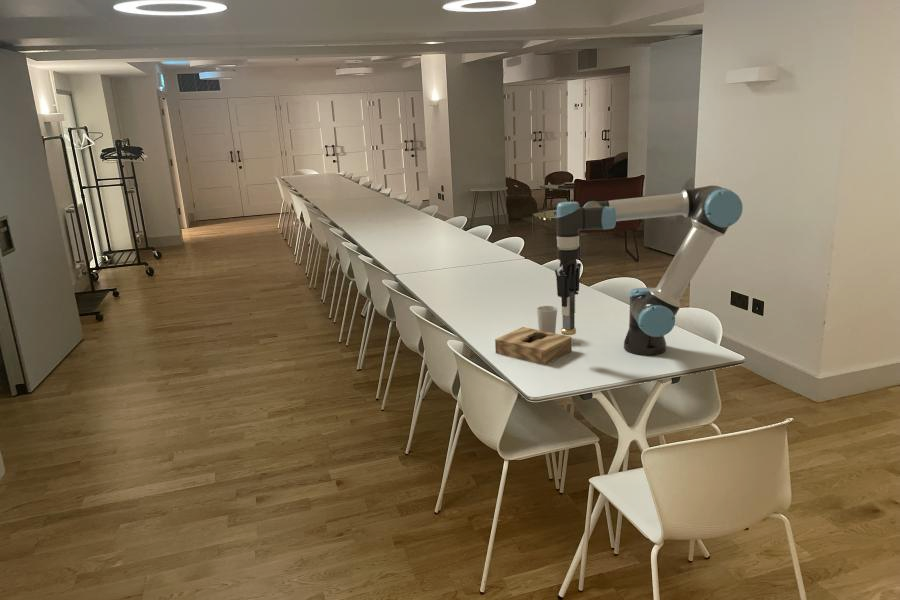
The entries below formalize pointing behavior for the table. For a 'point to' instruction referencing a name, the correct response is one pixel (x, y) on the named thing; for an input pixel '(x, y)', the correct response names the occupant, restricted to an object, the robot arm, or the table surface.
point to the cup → (547, 318)
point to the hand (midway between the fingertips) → (568, 313)
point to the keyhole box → (533, 345)
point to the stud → (569, 318)
